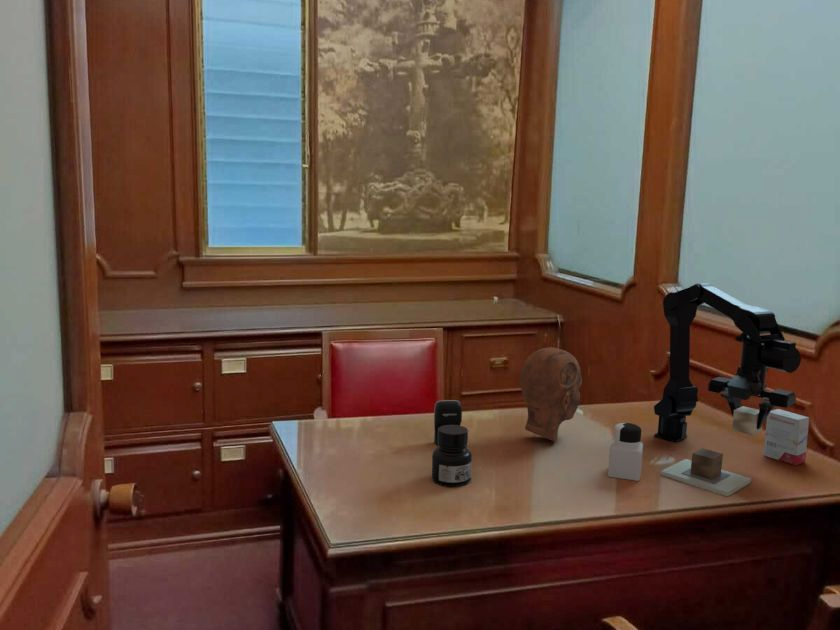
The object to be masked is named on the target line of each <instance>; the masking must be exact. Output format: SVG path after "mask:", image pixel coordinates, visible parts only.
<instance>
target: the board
mask: <svg viewBox="0 0 840 630" xmlns="http://www.w3.org/2000/svg"><path fill="white" fill-rule="evenodd" d="M691 462H692V459H687V458H684V459H682V460H681V461H679V462H676V463H675V464H673V465H671V466H669V467H666V468H665V469H662V470H661V472H660V475H661V476H663V477H667V478H669V479H672V480H675V481H679V482H682V483H685V484H687V485H691V486H693V487H697V488H700V489H703V490H706V491H709V492H712V493H715V494H719V495H721V496H725V497H729V496H730V495H732V494H734V493H736V492H737V491H739V490H741V489H742V488H744V487H746V486H747V485H749V484H751V482H752V478H751V477H747V476H743V475H741V474H738V473H734V472H731V471H727V470H724V469H721V474H720V475H719V476H717V477H715V478H713V479H712V480H710V479H707V478H704V477H701V476H698V475H694V474H691Z"/></svg>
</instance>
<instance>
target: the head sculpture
mask: <svg viewBox="0 0 840 630" xmlns="http://www.w3.org/2000/svg"><path fill="white" fill-rule="evenodd" d="M519 375H520V376H519V385H520V386H519V387H520V390H521V393H522V396H523V400H524V402H525V404H526V409H527V419H526V423H525V426H524V429H525V431H527V432H530V433H532V434H534V435H538V436H540V437H541V438H545V439H547V440H550V441H553V442H557V441H558V435H559V428H560V425H561V424H562V423H563V422H565V421H569V420H572V419H573V418H574V416H575V413H576V412H577V410H578V407H579V404H580V400H581V393H580V388H581V387H582V384H583V378H582V373H581V367H580V363H579V362H578V359H576V357H575V356H574V355H573V354H572V353H570V352H568V351H567V350H564V349H561V348H557V347H551V346H550V347H543V348H540V349H539V350H535V351H534V352H532V353H531V354H530V355H528V356H527V358H526V359H525V361H524V363H523V364H522V367H521V370H520V374H519Z"/></svg>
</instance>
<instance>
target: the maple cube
mask: <svg viewBox="0 0 840 630" xmlns="http://www.w3.org/2000/svg"><path fill="white" fill-rule="evenodd" d="M759 410H760V409H758V408H757V409H756V408H753V407H748V406H744V405H743V406H741V407H740V408H737V409H735V410H734V414H733V416H732V427H731V431H733V432H738V433H741V434H746V435H750V436H755V435H757V434H759V433H760V432H762V430H763V425H762V426H761V428H760V429H757V421H758V415H759Z"/></svg>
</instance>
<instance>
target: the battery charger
mask: <svg viewBox="0 0 840 630" xmlns="http://www.w3.org/2000/svg"><path fill="white" fill-rule="evenodd" d="M462 413H463V408H462V405H461V403H460V401H459V400H456V399H453V400H452V399H445V400H444V399H442V400H437V401H436V402H435V404H434V411H433V431H434V432H433V433H434V435H433V442H434V443H435V445H437V444H438V442H437V438H438V428H439V427H441V426H444V425H459V426H462V425H461V424H462V421H463V420H462V419H463V414H462Z"/></svg>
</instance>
